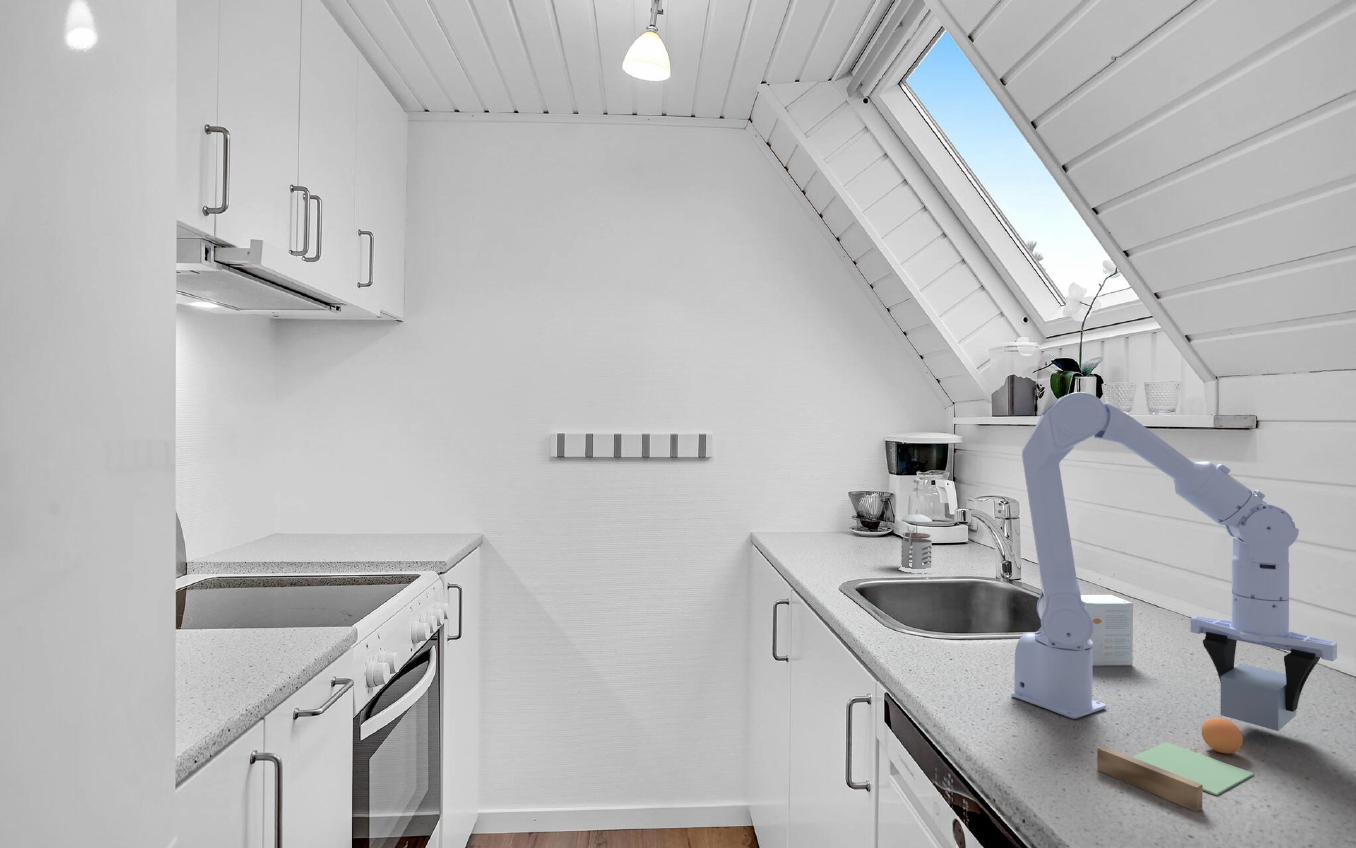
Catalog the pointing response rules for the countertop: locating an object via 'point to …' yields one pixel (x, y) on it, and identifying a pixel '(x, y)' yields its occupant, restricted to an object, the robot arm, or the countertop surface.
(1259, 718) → the grey-blue rectangular brick
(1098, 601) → the small box
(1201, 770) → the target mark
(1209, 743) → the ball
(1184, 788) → the wall
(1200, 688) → the countertop surface
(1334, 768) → the countertop surface
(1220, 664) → the robot arm
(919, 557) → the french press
